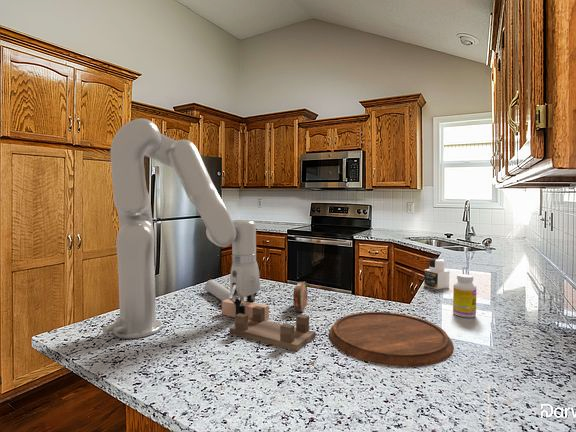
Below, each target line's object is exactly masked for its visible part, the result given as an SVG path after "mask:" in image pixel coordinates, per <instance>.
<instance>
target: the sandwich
mask: <svg viewBox="0 0 576 432" xmlns="http://www.w3.org/2000/svg"><path fill="white" fill-rule="evenodd" d="M292 294H293V295H292V297H293V308H294V311H295V312H298V313H300V312H301V313H303V312H304V311H305V309H306V307H307V305H308V285H307V281H298V282H297V284H296V285H295V287H294V289H293V293H292Z"/></svg>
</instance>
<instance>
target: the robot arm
mask: <svg viewBox="0 0 576 432" xmlns="http://www.w3.org/2000/svg"><path fill="white" fill-rule="evenodd" d="M109 155H110V166H111V179H112V180H111V181H112V190H113V191H112V192H113V204H114V207H115V208H116V210H117V215H118V216H117V217H118V224H119V230H118V232H117V234H116V241H115V242H116V243H115V244H116V256H117V257H116V258H117V269H118V270H117V273H118V275H117V276H118V296H119V297H118V298H119V300H118V301H119V317H116V318H115V321H114V322H113V323H112V324H108V325H105V326H104V325H103V326H102V329H101V330H102V333H103V334H104V335H105V334H109V333H111V332H112V333H113V334H114V336H115V337H117V338H120V339H138V338H144V337H148V336H151V335H154V334H156V333H157V332H159V331H160V330H161V329H162V326H163V325H162V322H161V321H160V320H158V319H157V314H156V313H157V312H156V311H157V309H156V305H157V304H156V275H155V272H156V270H155V232H154V230H155V229H154V224H153V213H152V204H151V197H150V194H149V191H148V188H147V182H146V170H145V157H148V158H150V159H152V160H154V161H156V162H159V163H160V164H163V165H165V166H168V167H171V168H173V169H174V171H175V173H176V175H177V178H178V179H179V181H180V183H181V186H182V187H183V190H184V192H185V194H186V196H187V198H188V199H189V201H190V202H191V204H192V205H193V207H195V208H196V211H197V212H198V213H199V216H200V218H201V220H202V221H203V224H204V225H205V227H206V228H205V229H206V230H205V234H206V237H207V239H208V240H209V241H210V242H211V243H212V244H214V245H216V246H217V247H220V248H221V247H222V248H225V247H228V246H230V245H232V246H231V248H232V250H231V251H232V252H231V253H232V255H231V256H232V257H231V261H232V264H231V269H230V279H229V290H230V293H231V294H230V296H229V300H231V301H232V302H233V303H234V305H236V315H237V314H239V313H241V314H245V306H243V302H244V301H247V302H252V303H255V301H256V295H257V293H258V292H259V291H260V289H261V286H260V285H261V282H260V281H261V280H260V270H259V264H258V262H257V230H256V229H257V227H256V226H257V224H256V223H255V221H253V220H250V219H249V220H248V219H247V220H244V219H243V220H241V219H240V220H238V219H237V220H232V218H231V216H230V213H229V211H228V209H227V207H226V206H225V204H224V202H223V199H222V198H221V196H220V194H219V193H218V190H217V188H216V186H215V184H214V182H213V181H212V178H211V175H210V174H209V172H208V170H207V167H206V165H205V163H204V161H203V159H202V157H201V154H200V152H199V149H198V147H197V146H196V145H195V144H194V142H192V141H191V140H190V139H189V140H188V139H178V140H176V139H173V138H172V137H169V136H167V135H165V134H163V133H161V132H160V130H159V128H158V125H156V124H155V123H154V122H153V121H152V120H150V119H147V118H135V119H132V120H130V121H128V122H127V123H125V124H123V125H122V126H121V127H120V128H119V129H118V130H117V132H116V134H115V135H114V137H113V140H112V142H111V145H110V154H109ZM238 298H240V300H239V299H238ZM245 298H246V299H245Z"/></svg>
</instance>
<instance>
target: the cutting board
mask: <svg viewBox="0 0 576 432" xmlns="http://www.w3.org/2000/svg"><path fill="white" fill-rule="evenodd" d="M328 336H329V337H328V338H329V340H330V342H331V343H332V345H334V346H335V347H336V348H337V349H338V350H339V351H341V352H344V353H345V354H347V355H348V356H350V357H353V358H356V359H359V360H363V361H366V362H369V363H372V364H374V363H375V364H378V365H384V366H390V367H393V366H394V367H409V368H410V367H412V368H413V367H423V366H430V365H434V364H437V363H441V362H443V361H445V360H447V359H448V358H450V357H451V355H453V353H454V347H455V346H454V343H453V341H452V339H451V338H450V336H449V335H448V334H447V332H446V330H444V329H443V328H442V327H440V326H438V325H436V324H434V323H433V322H430V321H428V320H425V319H422V318H420V317H416V316H412V315H407V314H402V313H396V312H386V311H385V312H384V311H383V312H382V311H366V312H365V311H364V312H357V313H352V314H347V315H344V316H342V317H341V318H338V319H337V320H336V321H335V322H334V324H333V325H332V326H331V328H330V329H329V331H328Z"/></svg>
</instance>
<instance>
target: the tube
mask: <svg viewBox="0 0 576 432" xmlns="http://www.w3.org/2000/svg"><path fill="white" fill-rule="evenodd" d="M206 281H207V282H205V284H204V290H205V291H206V292H208V293H209V294H211V295H213V296H214V297H216V298H217V299H219V300H220V301H221V302H222V301H224V300H226V299H229V296H230V294H231V293H230V288H229V289H228V288H227V287H225V286H223V285H222V284H220V283H218V281H216V280H214V279H209V280H206ZM238 299H239V300H240V298H238Z"/></svg>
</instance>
